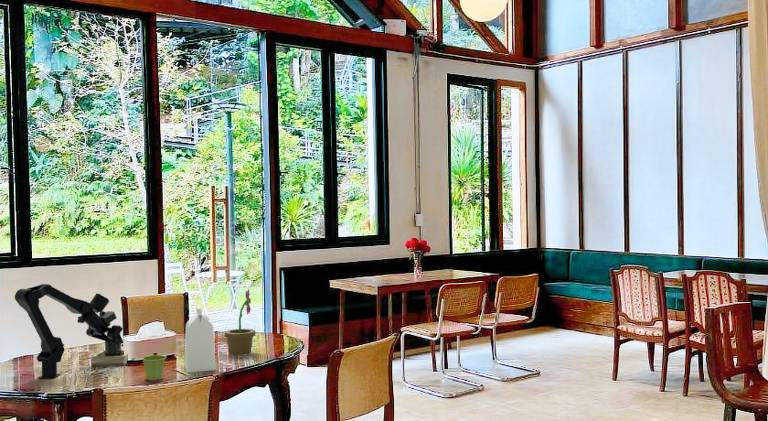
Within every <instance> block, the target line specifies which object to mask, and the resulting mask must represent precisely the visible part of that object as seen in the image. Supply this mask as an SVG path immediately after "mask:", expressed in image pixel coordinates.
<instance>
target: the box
mask: <svg viewBox="0 0 768 421" xmlns="http://www.w3.org/2000/svg"><path fill="white" fill-rule="evenodd" d="M123 350H124V349H121V356H105V349H104V350H102V351H99V352H98V353H96V354H94V355H92V356H91V358H90V359H91V367H103V366H106V367H109V366H113V367H114V366H125V365H126V364H128V363H127V361H128V354H127V353H126V354H124V351H123Z"/></svg>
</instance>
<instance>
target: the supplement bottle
mask: <svg viewBox="0 0 768 421" xmlns="http://www.w3.org/2000/svg"><path fill="white" fill-rule="evenodd" d="M104 350H105V356H121V350H122V344H121V343H118V342H115V341H113V340H110V339H109V338H107V339H106V340H105V341H104Z"/></svg>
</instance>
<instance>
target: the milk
mask: <svg viewBox="0 0 768 421" xmlns="http://www.w3.org/2000/svg"><path fill="white" fill-rule="evenodd" d="M202 313H203V312H202V308H201V307H200V306H196V311H195V314H194V315H192V317H190V319H188V320H187V322H186V323H185V339H184V340H185V343H184V368H185V371H186V373H195V372H196V373H197V372H206V371H207V372H208V371H215V370H216V357H215V356H216V354H215V335H214V325H213V323H212V322H211V321H210V317H208V316H207V315H206V314H204V315H203V314H202Z"/></svg>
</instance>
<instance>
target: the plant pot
mask: <svg viewBox="0 0 768 421" xmlns="http://www.w3.org/2000/svg"><path fill="white" fill-rule="evenodd" d="M166 359H167V355H160V354H157V355H156V354H155V355H148V356H144V357H142V358H141V360H142V362H143V365H144V371H145V378H146V380H147V381H149V382H150V381H151V382H152V381H153V382H154V381H157V380H162V379H163V377H164V376H163V375H164V368H165V362H166Z"/></svg>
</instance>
